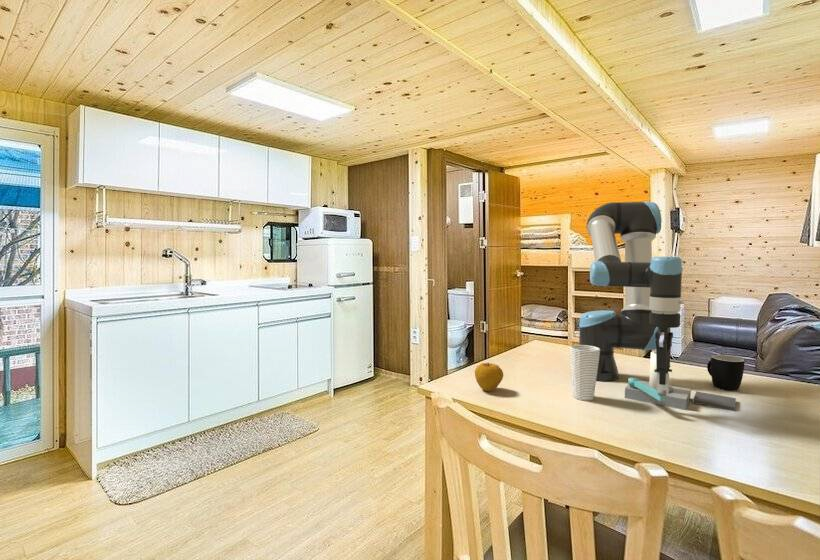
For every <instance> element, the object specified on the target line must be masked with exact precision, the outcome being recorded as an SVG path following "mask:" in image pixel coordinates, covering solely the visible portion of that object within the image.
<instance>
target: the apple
mask: <svg viewBox="0 0 820 560" xmlns="http://www.w3.org/2000/svg"><path fill="white" fill-rule="evenodd" d="M474 377H475V380H476V383H477V385H478V386H479V387H480V388H481V390H482V391H485V392H493V391H494V390H496V389H497V387H498V386H499V385H500V384H501V382H502V381H503V379H504V371H503V369H502V368H501V367H500V365H498V364H496V363H493V362H492V363H490V362H482V363H480V364H478V365H477V366H476V367H475V370H474Z"/></svg>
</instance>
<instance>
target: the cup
mask: <svg viewBox="0 0 820 560" xmlns="http://www.w3.org/2000/svg"><path fill="white" fill-rule="evenodd" d="M569 349H570V350H569V351H570V368H571V369H570V370H571V372H570V373H571V387H572V397H573V398H574V399H576V400H580V401H587V402H588V401H592V400H594V399H595V392H596V384H597V380H596V377H597V370H598V362H599V355H600V348H598V347H595V346H590V345H579V344H574V345H570V347H569Z"/></svg>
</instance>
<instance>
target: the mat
mask: <svg viewBox="0 0 820 560" xmlns="http://www.w3.org/2000/svg"><path fill="white" fill-rule="evenodd" d="M736 400H737V398H736V397H733V396H732V397H731V396H725V395H720V394H715V393H714V394H713V393H709V392H708V393H707V392H704V391H703V392H702V391H695V395H694V396H693V398H692V404H696V405H702V406H706V407H707V406H708V407H713V408H718V409H723V410H729V411H734V412H735V411H736V410H735V409H736Z"/></svg>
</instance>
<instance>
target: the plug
mask: <svg viewBox="0 0 820 560" xmlns="http://www.w3.org/2000/svg"><path fill="white" fill-rule="evenodd" d="M649 360H650V361H649V377H648V378H649V380H648V382H649V383H644V384H646V385H648V386H649V387H651V388H653V389H655V390H657V372H654V370H655V369H656V368H657V363H656V349H655V350H653V351H651V352H650V358H649ZM671 386H672V385H670V386H669V392H672V391H673V388H672V387H671Z"/></svg>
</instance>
